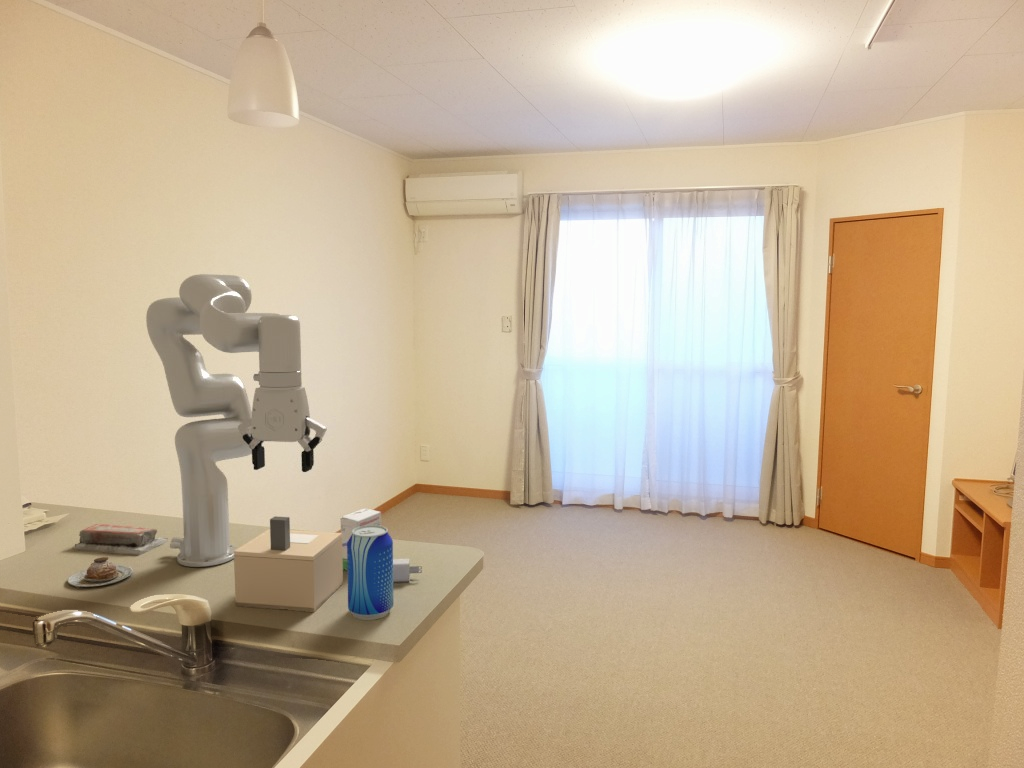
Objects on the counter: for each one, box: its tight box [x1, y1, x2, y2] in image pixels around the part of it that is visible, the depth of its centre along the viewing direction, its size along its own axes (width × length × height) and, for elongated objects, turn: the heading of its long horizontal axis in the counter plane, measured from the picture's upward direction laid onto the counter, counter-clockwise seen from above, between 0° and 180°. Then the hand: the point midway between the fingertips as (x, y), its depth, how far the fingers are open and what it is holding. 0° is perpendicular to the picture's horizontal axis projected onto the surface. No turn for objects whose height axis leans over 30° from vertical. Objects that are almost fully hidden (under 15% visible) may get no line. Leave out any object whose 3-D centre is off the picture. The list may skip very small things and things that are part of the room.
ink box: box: [340, 508, 382, 571], centre depth 159 cm, size 8×5×12 cm, turn 152°
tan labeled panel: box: [234, 516, 342, 561], centre depth 142 cm, size 16×14×7 cm
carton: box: [233, 537, 344, 613], centre depth 143 cm, size 16×14×10 cm
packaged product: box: [73, 523, 169, 556], centre depth 171 cm, size 18×5×10 cm
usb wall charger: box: [393, 558, 423, 583], centre depth 152 cm, size 4×7×4 cm, turn 97°
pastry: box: [67, 556, 134, 589], centre depth 151 cm, size 12×12×5 cm
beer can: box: [346, 525, 394, 621], centre depth 135 cm, size 8×8×16 cm
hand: (283, 469), depth 137 cm, fingers open, 9 cm apart
